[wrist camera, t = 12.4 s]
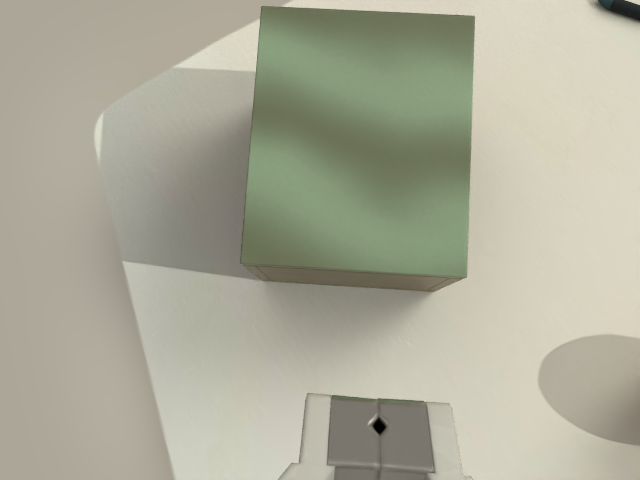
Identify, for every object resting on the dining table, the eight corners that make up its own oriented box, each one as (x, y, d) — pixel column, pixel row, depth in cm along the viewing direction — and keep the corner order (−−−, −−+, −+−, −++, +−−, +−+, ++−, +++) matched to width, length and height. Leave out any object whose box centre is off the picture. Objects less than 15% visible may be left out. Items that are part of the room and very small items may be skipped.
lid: (262, 12, 36) (261, 5, 35) (472, 21, 36) (475, 15, 35) (242, 264, 34) (239, 263, 33) (464, 278, 34) (467, 277, 33)
